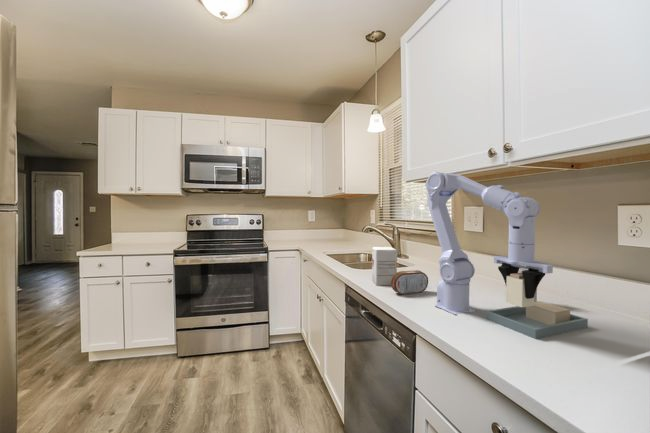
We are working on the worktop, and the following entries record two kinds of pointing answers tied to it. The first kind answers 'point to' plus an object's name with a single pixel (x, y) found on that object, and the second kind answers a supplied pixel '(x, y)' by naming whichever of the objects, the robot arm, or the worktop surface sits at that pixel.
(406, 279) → the tin
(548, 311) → the tan stepped block
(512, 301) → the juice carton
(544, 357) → the worktop surface
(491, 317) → the tray
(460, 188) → the robot arm
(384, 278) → the supplement box
